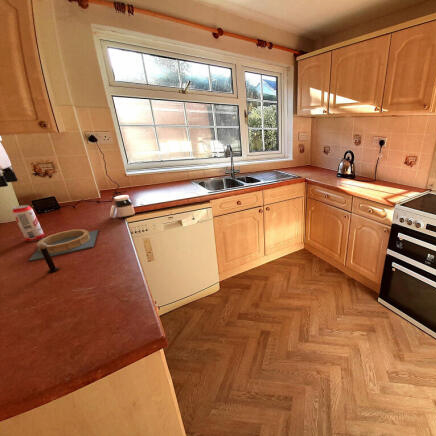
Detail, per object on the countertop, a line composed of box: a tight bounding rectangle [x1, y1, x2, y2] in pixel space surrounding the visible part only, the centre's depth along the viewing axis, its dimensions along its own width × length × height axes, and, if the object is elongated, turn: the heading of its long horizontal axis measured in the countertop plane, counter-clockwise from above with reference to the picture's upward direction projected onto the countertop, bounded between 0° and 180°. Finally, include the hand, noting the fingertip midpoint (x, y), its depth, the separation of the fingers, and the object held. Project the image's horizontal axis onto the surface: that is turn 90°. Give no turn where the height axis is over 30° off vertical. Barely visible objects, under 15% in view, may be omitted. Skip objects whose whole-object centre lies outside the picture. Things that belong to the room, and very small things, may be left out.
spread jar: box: [109, 194, 136, 220], centre depth 135 cm, size 12×11×12 cm
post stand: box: [37, 243, 59, 274], centre depth 86 cm, size 3×3×11 cm
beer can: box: [12, 204, 45, 243], centre depth 110 cm, size 6×6×16 cm
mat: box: [28, 229, 99, 262], centre depth 107 cm, size 20×20×1 cm
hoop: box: [36, 228, 90, 253], centre depth 106 cm, size 17×17×3 cm
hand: (7, 184), depth 93 cm, fingers open, 9 cm apart
